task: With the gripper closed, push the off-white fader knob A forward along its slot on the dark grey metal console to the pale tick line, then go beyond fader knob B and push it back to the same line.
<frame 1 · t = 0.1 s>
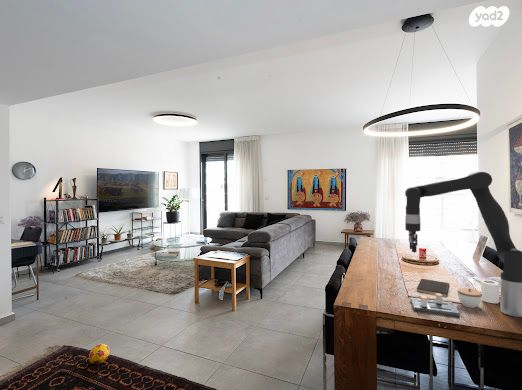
hand: (413, 250, 156), 29 cm above the table, fingers open, 8 cm apart
fader a: (438, 298, 149), point 5 cm above the table, slide at 0.0 cm
console: (433, 308, 147), on the table
fader b: (424, 301, 145), point 5 cm above the table, slide at 8.0 cm
lidded jar: (469, 305, 150), on the table
hardcover book: (433, 289, 177), on the table
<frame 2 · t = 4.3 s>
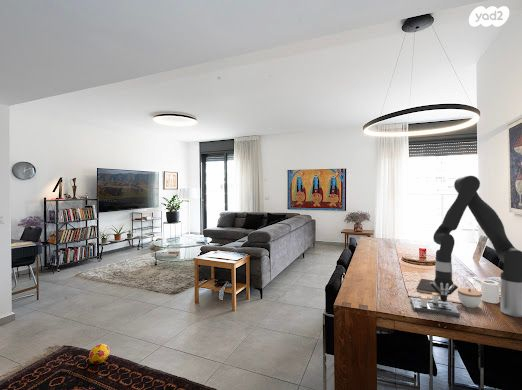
hand: (443, 301, 148), 3 cm above the table, fingers closed
fader a: (435, 298, 149), point 5 cm above the table, slide at 1.6 cm, touching gripper
everything else where it was.
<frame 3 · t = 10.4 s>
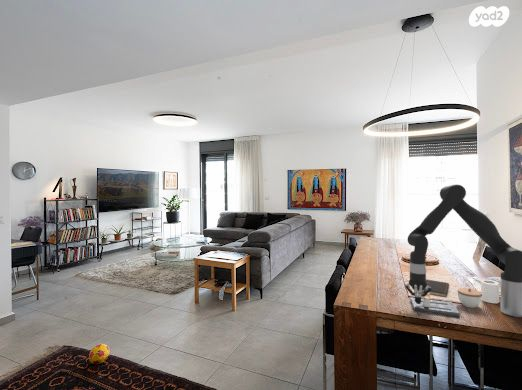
hand: (417, 303, 147), 3 cm above the table, fingers closed
fader a: (426, 296, 151), point 5 cm above the table, slide at 5.8 cm
fader b: (426, 301, 145), point 5 cm above the table, slide at 6.9 cm
everything else where it was.
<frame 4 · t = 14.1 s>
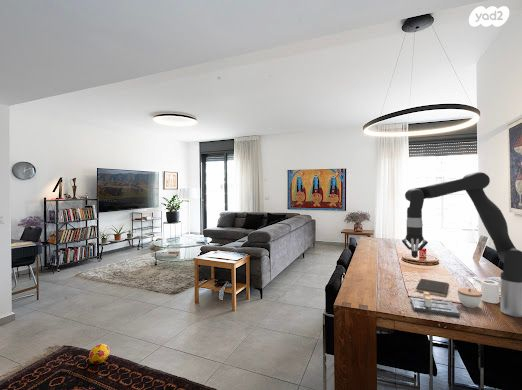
hand: (414, 257, 149), 27 cm above the table, fingers closed
fader b: (428, 301, 145), point 5 cm above the table, slide at 6.2 cm
everything else where it was.
at the end: fader a slide at 5.8 cm; fader b slide at 6.2 cm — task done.
